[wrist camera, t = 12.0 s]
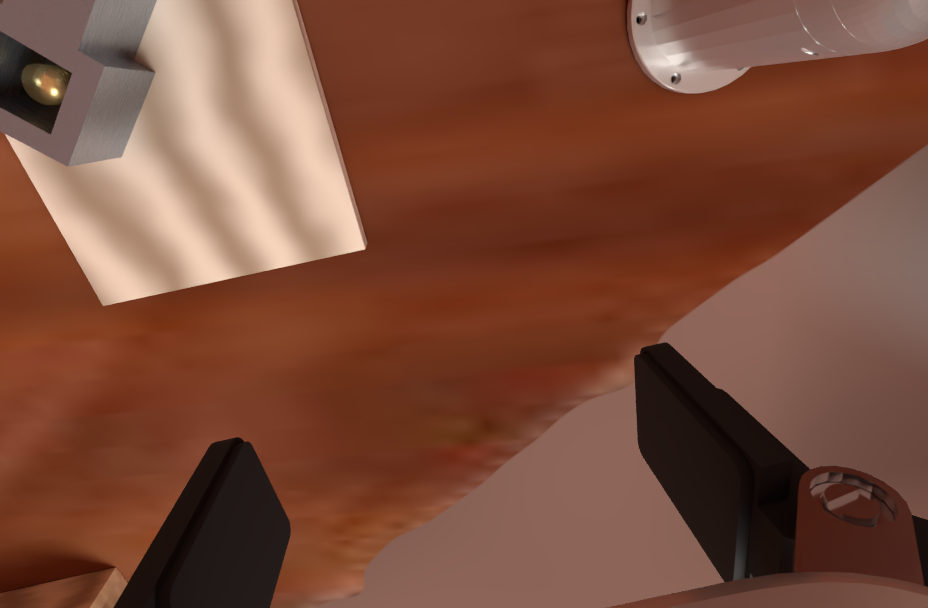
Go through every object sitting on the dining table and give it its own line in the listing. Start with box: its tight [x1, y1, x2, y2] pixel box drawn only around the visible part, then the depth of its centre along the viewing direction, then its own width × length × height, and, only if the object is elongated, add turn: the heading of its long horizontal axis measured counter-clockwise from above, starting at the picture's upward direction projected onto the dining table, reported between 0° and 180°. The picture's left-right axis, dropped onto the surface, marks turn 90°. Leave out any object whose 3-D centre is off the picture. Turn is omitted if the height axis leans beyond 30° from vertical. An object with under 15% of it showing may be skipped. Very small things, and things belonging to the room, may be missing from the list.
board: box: [5, 0, 367, 306], centre depth 34 cm, size 23×32×2 cm
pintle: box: [21, 64, 72, 105], centre depth 32 cm, size 2×2×6 cm
